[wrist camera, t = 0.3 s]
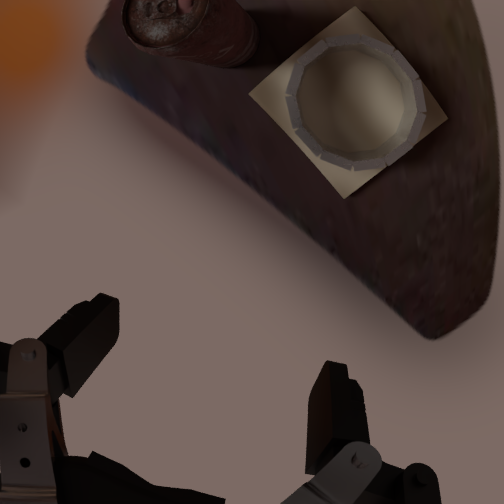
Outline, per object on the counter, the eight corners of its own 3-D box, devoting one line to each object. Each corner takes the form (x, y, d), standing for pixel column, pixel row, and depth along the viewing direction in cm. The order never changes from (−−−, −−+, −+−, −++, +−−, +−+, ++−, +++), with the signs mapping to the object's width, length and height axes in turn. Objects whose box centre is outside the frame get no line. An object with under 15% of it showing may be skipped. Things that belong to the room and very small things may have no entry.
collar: (355, 21, 21) (360, 10, 18) (433, 115, 24) (449, 118, 20) (265, 94, 26) (257, 94, 23) (345, 183, 28) (349, 196, 25)
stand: (353, 9, 22) (355, 6, 21) (443, 117, 24) (448, 118, 23) (251, 93, 27) (248, 93, 26) (343, 195, 30) (343, 199, 29)
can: (276, 40, 25) (242, -1, 12) (223, 81, 27) (152, 75, 15) (236, -3, 23) (176, -59, 11) (185, 38, 26) (99, 14, 14)
